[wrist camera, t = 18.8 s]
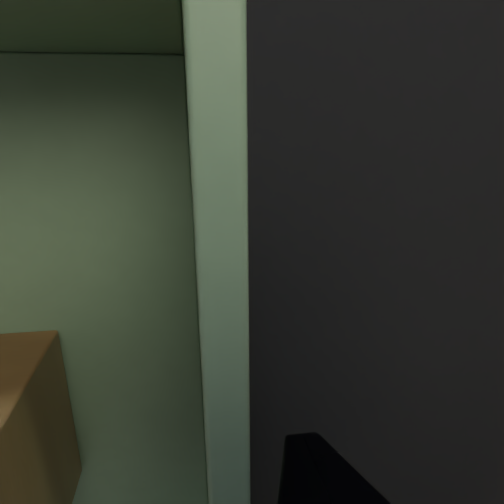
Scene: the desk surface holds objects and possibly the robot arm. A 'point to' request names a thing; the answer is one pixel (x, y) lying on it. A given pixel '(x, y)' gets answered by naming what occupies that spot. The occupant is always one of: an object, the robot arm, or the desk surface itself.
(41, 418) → the beech block
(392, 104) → the placemat
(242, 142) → the open storage box
